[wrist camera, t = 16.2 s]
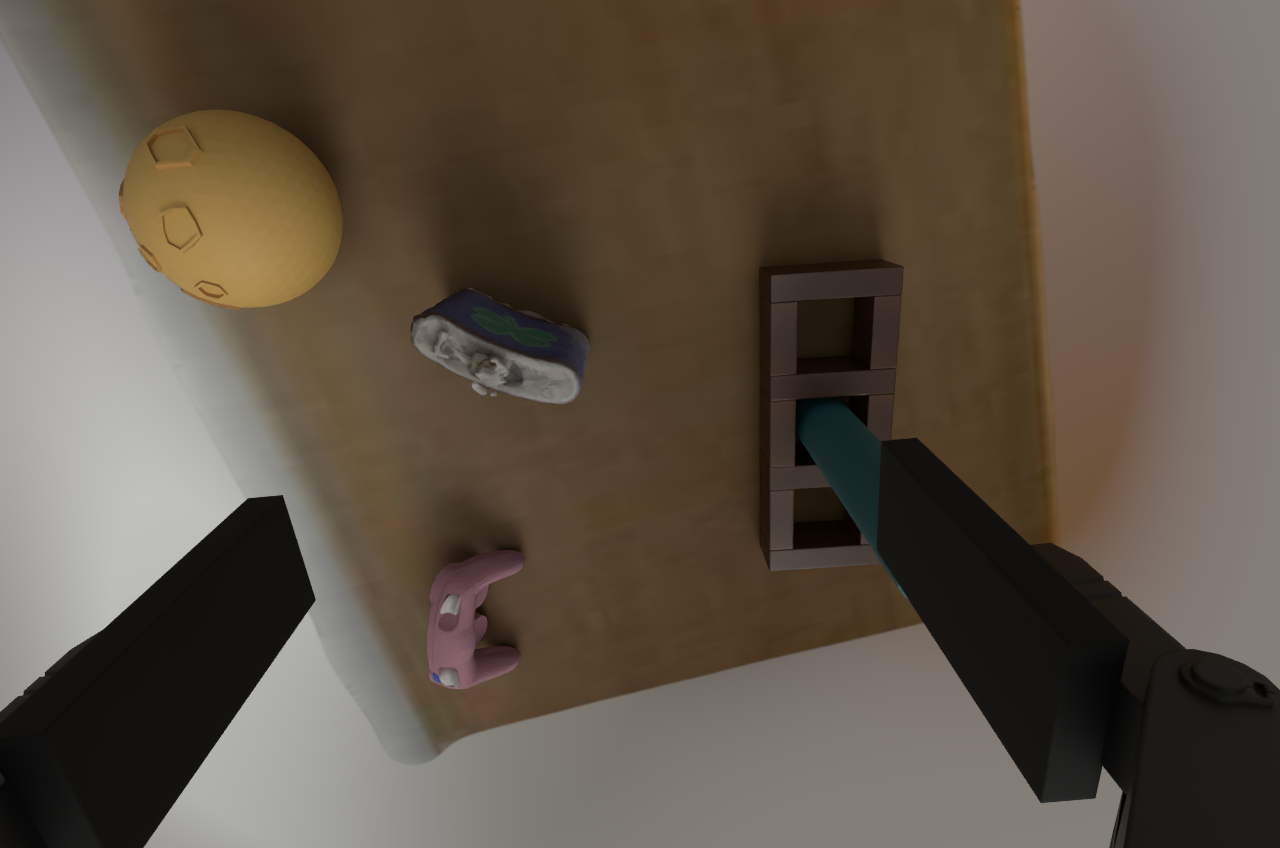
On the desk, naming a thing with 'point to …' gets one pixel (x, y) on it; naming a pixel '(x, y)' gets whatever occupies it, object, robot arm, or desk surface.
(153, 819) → the robot arm
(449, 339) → the flask
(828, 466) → the dowel
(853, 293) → the pen block
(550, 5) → the desk surface
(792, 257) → the desk surface
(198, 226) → the stress ball
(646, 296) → the desk surface
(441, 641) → the video game controller
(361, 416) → the desk surface
